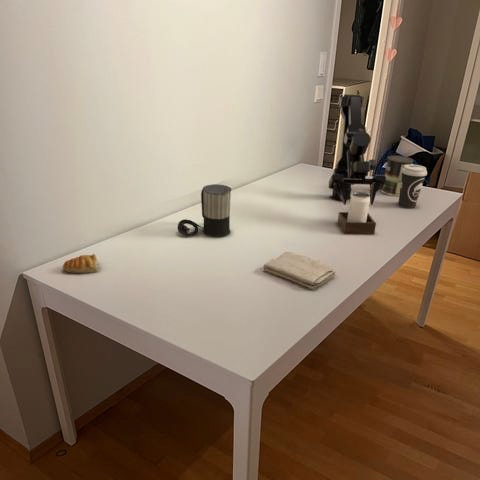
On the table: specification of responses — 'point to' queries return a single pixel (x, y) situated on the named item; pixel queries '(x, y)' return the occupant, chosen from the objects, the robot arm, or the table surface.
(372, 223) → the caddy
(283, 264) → the washcloth
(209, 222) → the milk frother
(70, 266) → the pastry
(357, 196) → the can
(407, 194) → the coffee cup
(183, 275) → the table surface
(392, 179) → the coffee can
